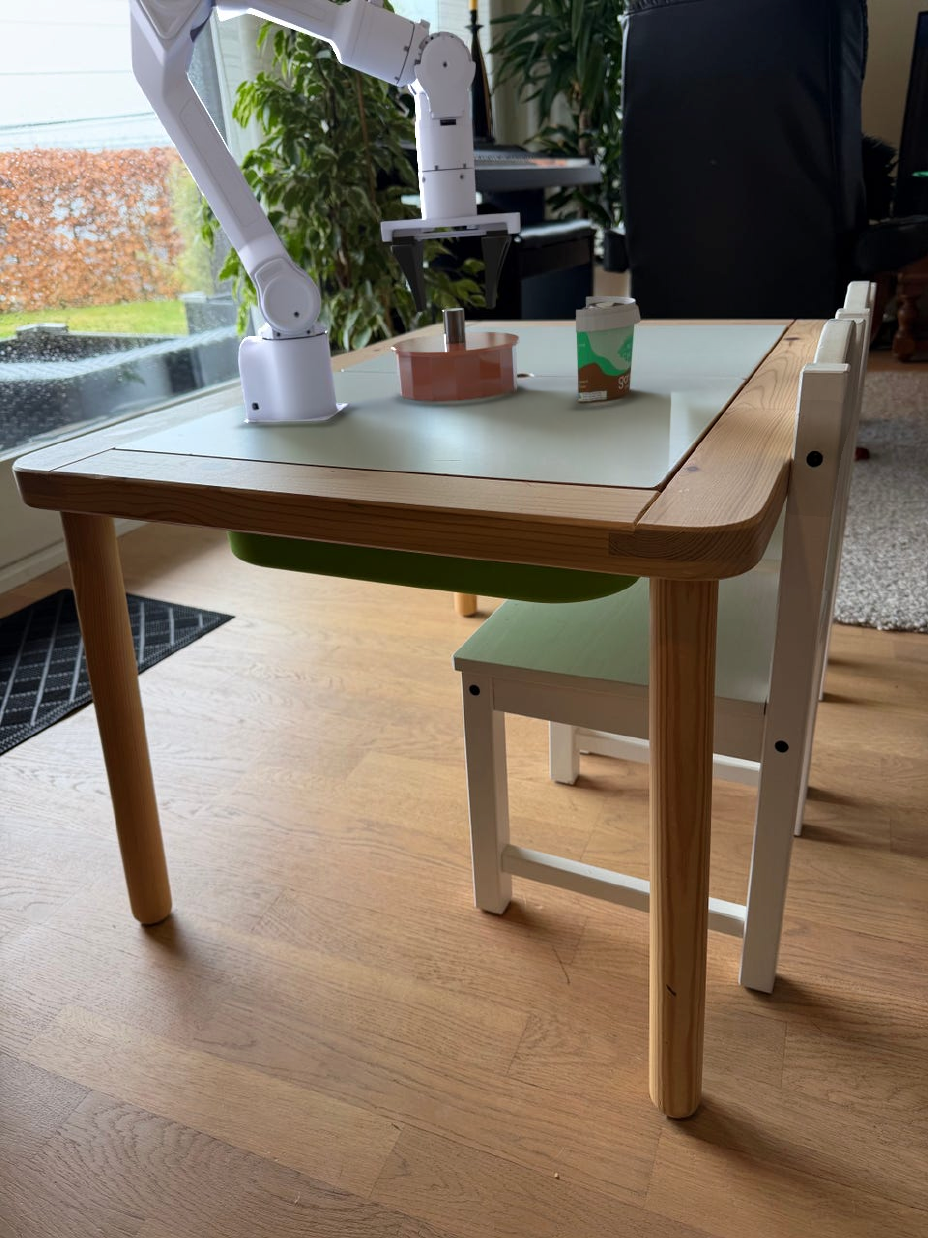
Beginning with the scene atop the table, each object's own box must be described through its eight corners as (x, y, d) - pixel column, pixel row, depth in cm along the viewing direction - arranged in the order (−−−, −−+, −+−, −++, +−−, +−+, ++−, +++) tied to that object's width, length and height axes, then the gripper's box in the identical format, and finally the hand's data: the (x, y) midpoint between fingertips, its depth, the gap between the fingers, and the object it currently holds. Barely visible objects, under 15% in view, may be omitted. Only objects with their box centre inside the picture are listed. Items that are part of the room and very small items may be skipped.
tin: (386, 407, 106) (382, 358, 104) (416, 383, 118) (412, 339, 116) (506, 404, 103) (504, 353, 101) (524, 380, 115) (522, 334, 113)
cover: (382, 365, 103) (378, 321, 101) (403, 344, 116) (399, 305, 114) (516, 358, 101) (514, 313, 99) (522, 338, 115) (520, 298, 113)
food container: (637, 410, 96) (638, 307, 92) (577, 411, 98) (575, 310, 94) (642, 385, 107) (643, 293, 103) (587, 387, 109) (586, 296, 105)
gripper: (522, 165, 99) (527, 301, 105) (388, 175, 102) (400, 307, 108) (512, 164, 93) (518, 309, 98) (370, 175, 96) (384, 315, 101)
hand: (455, 309), depth 103 cm, fingers open, 7 cm apart
